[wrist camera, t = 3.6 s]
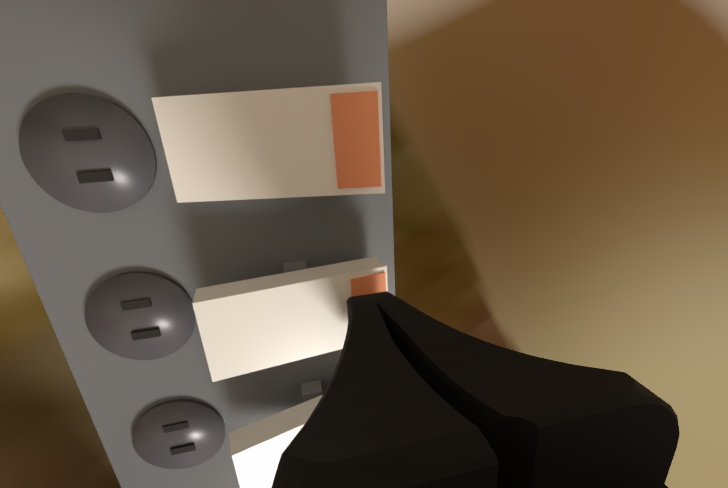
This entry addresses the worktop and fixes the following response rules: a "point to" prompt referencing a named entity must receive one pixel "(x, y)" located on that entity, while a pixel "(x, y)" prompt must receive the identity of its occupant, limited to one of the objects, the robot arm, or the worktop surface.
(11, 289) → the worktop surface
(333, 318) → the middle rocker
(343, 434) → the robot arm
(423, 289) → the worktop surface
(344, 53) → the power strip
